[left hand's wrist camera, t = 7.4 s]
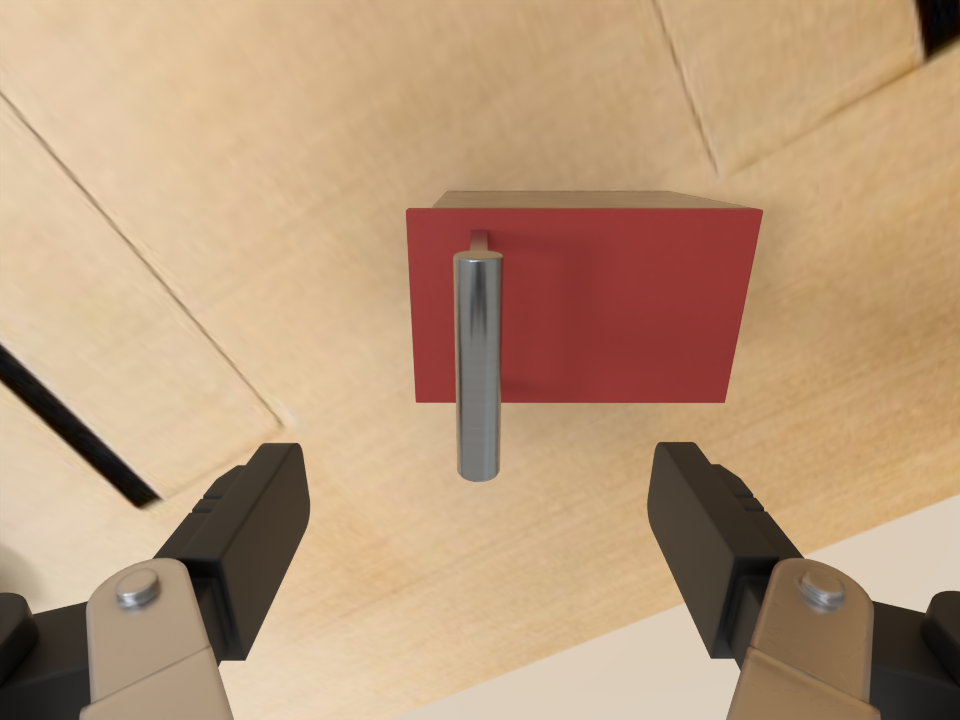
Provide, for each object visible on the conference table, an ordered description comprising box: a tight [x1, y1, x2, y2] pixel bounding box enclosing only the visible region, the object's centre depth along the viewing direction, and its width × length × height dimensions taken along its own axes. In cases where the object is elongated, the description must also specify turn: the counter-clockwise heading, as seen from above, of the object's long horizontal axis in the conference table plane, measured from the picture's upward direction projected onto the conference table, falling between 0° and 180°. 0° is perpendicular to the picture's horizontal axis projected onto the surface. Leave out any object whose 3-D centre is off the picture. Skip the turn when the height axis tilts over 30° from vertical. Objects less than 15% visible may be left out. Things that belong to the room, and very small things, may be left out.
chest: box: [432, 191, 749, 208], centre depth 29 cm, size 14×9×11 cm, turn 90°
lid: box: [406, 208, 763, 482], centre depth 20 cm, size 15×9×8 cm, turn 90°
